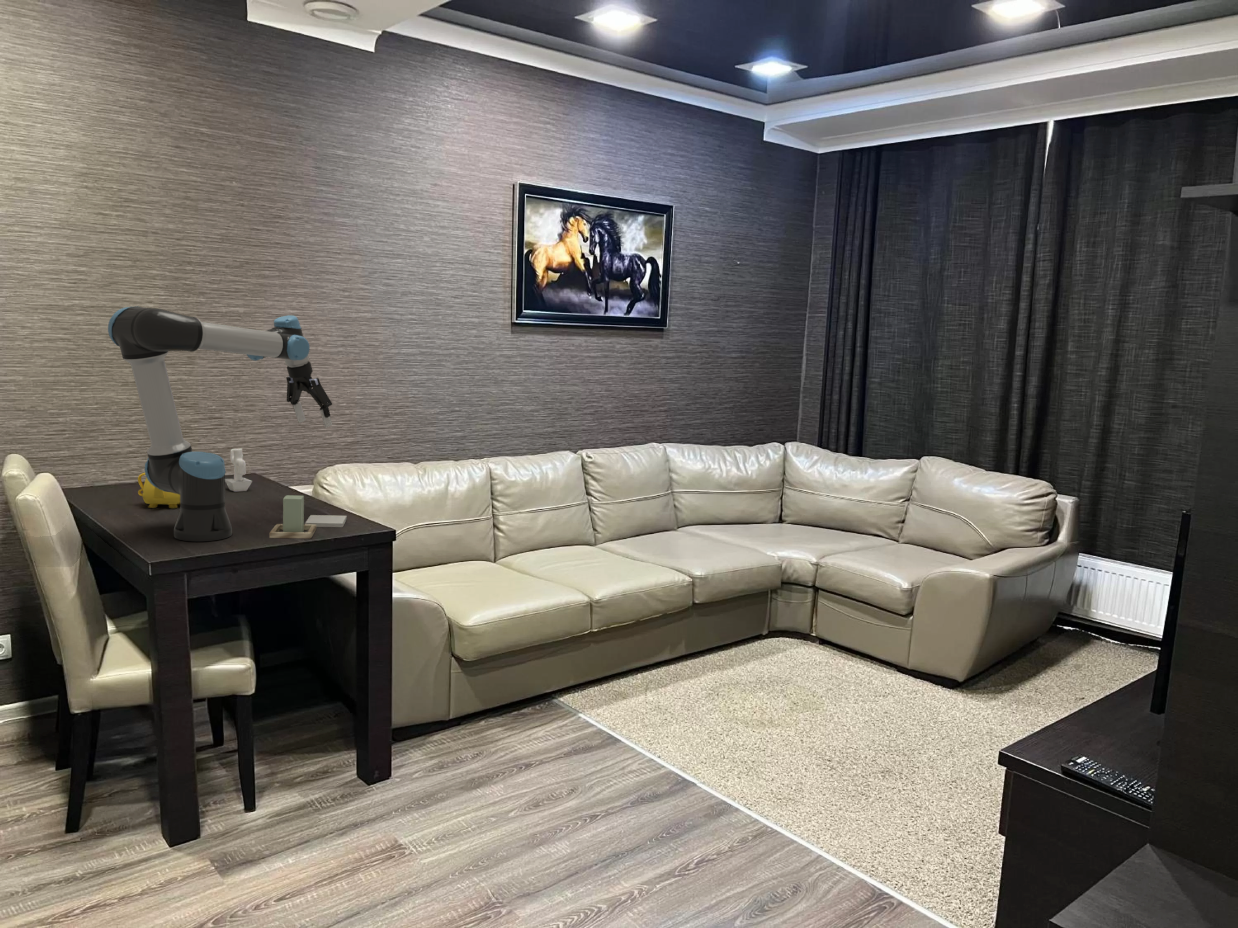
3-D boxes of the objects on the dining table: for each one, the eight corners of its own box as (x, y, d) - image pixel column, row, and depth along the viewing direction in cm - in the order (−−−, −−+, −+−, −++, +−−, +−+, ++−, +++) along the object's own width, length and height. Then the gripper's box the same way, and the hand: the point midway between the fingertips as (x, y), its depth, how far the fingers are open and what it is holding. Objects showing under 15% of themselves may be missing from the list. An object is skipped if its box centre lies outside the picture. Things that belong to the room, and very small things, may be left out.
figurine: (233, 493, 319) (232, 451, 317) (222, 488, 326) (222, 447, 324) (253, 491, 324) (253, 450, 322) (243, 487, 331) (243, 446, 329)
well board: (269, 537, 262) (269, 532, 262) (276, 528, 273) (276, 523, 273) (310, 538, 264) (310, 533, 264) (316, 529, 275) (316, 524, 275)
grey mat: (305, 526, 278) (305, 522, 277) (310, 518, 288) (310, 515, 288) (342, 527, 280) (342, 523, 280) (346, 519, 290) (346, 515, 290)
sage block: (283, 535, 266) (283, 498, 264) (286, 531, 270) (286, 495, 269) (301, 535, 267) (301, 499, 265) (303, 531, 271) (303, 495, 270)
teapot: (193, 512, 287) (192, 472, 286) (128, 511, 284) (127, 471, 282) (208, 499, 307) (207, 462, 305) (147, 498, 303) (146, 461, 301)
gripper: (332, 362, 291) (348, 423, 299) (283, 357, 304) (300, 415, 313) (314, 370, 285) (331, 432, 294) (264, 364, 299) (282, 423, 307)
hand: (315, 423), depth 303 cm, fingers open, 13 cm apart
